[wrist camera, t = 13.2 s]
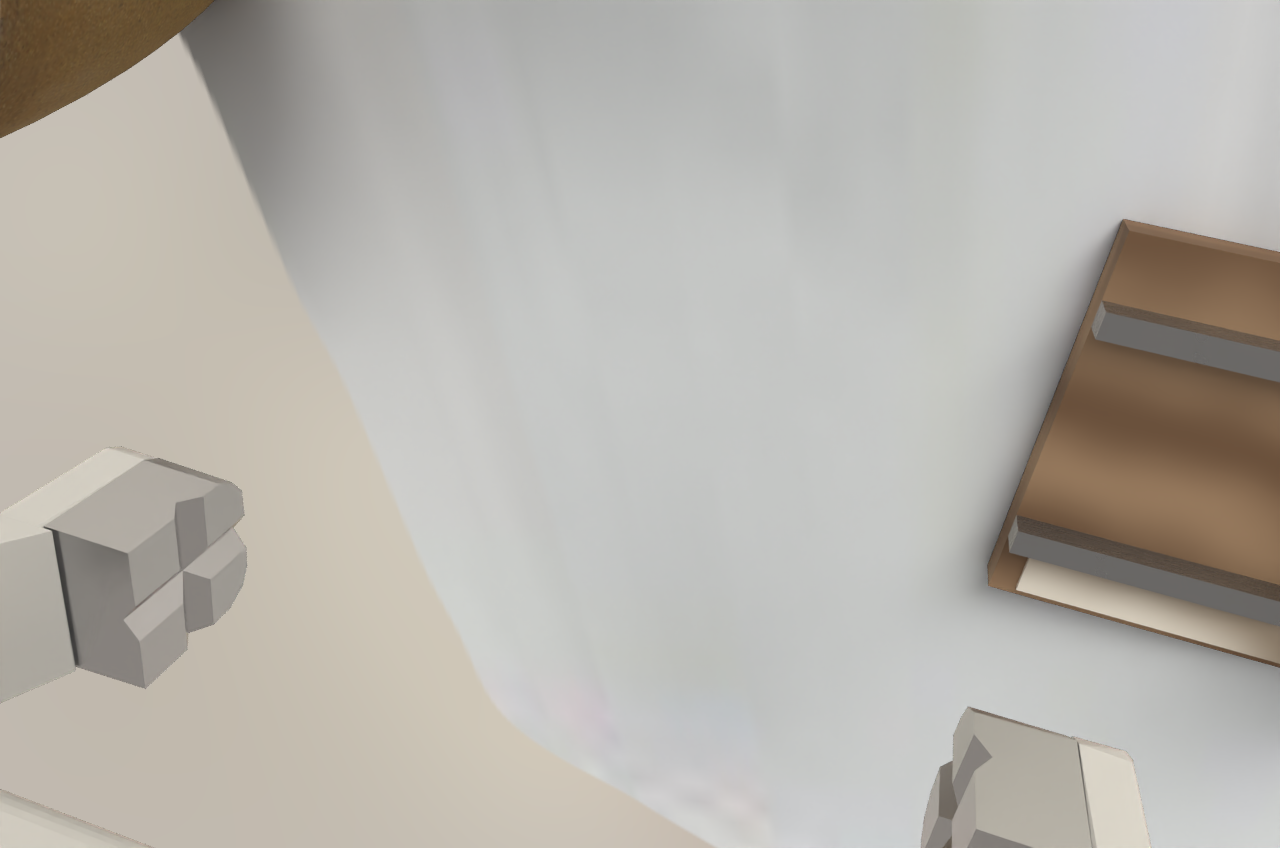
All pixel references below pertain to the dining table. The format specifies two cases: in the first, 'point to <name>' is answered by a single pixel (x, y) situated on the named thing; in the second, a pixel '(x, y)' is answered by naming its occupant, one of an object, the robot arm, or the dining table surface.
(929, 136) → the dining table surface
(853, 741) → the dining table surface
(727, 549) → the dining table surface
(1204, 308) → the gauge bench
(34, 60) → the plant pot
